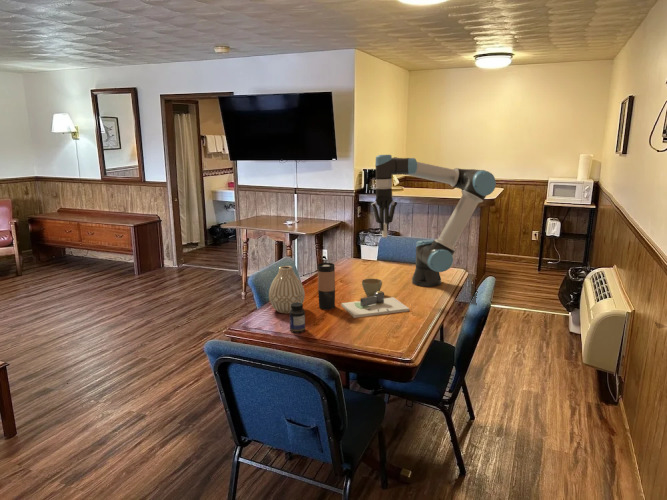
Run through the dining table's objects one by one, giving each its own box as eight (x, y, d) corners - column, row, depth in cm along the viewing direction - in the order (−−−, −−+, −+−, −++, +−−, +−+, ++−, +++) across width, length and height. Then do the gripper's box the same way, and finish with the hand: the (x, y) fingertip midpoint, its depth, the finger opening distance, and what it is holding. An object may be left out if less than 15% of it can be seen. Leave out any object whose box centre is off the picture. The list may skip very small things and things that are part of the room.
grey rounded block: (379, 299, 223) (380, 289, 222) (386, 302, 220) (386, 291, 219) (358, 304, 217) (358, 294, 216) (364, 307, 213) (364, 296, 212)
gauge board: (393, 299, 230) (393, 296, 229) (409, 311, 214) (409, 307, 213) (341, 305, 222) (341, 302, 222) (353, 317, 206) (353, 314, 206)
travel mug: (337, 305, 222) (337, 263, 218) (332, 310, 215) (331, 267, 211) (322, 303, 225) (321, 262, 221) (316, 309, 218) (315, 266, 214)
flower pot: (381, 298, 231) (381, 284, 230) (360, 297, 233) (360, 283, 232) (383, 292, 241) (383, 278, 239) (363, 291, 243) (363, 277, 241)
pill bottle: (290, 327, 196) (289, 302, 194) (305, 327, 197) (304, 301, 194) (290, 333, 190) (289, 307, 188) (305, 333, 190) (304, 306, 188)
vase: (277, 318, 206) (275, 273, 202) (264, 308, 220) (262, 265, 216) (310, 312, 214) (309, 268, 209) (296, 302, 227) (295, 261, 223)
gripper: (393, 186, 233) (393, 234, 238) (368, 188, 230) (369, 236, 235) (399, 187, 226) (400, 237, 231) (374, 189, 223) (374, 239, 228)
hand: (384, 236), depth 233 cm, fingers closed
